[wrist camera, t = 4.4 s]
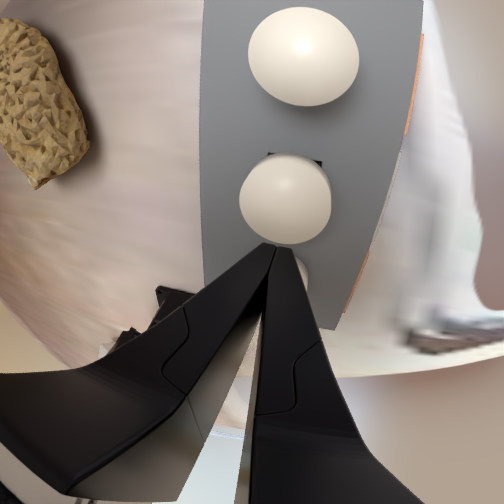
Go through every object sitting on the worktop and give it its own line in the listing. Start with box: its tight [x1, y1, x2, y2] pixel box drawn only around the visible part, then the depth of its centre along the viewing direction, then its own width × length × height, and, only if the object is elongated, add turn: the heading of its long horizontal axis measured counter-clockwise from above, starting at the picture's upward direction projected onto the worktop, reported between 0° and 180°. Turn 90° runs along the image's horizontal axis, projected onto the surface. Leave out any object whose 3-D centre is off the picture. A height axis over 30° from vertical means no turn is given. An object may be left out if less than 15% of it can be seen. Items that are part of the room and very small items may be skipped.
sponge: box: [0, 17, 90, 190], centre depth 15 cm, size 13×8×20 cm
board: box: [199, 0, 424, 330], centre depth 17 cm, size 24×11×3 cm, turn 176°
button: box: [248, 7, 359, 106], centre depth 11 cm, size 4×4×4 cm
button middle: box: [239, 152, 331, 244], centre depth 15 cm, size 4×4×4 cm
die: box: [98, 342, 116, 360], centre depth 38 cm, size 8×9×10 cm
